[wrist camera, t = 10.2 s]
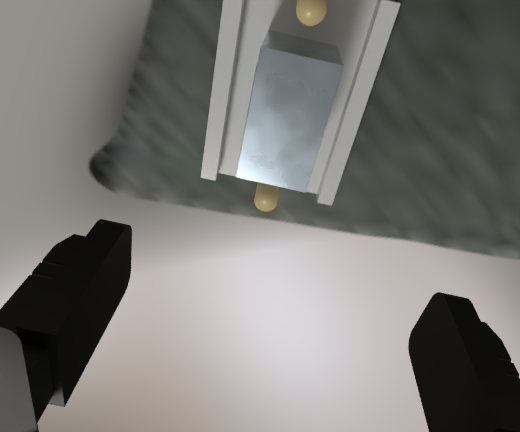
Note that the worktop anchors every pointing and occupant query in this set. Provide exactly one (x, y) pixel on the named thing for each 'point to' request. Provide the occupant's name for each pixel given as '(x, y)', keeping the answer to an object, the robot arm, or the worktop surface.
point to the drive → (288, 110)
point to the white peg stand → (244, 65)
